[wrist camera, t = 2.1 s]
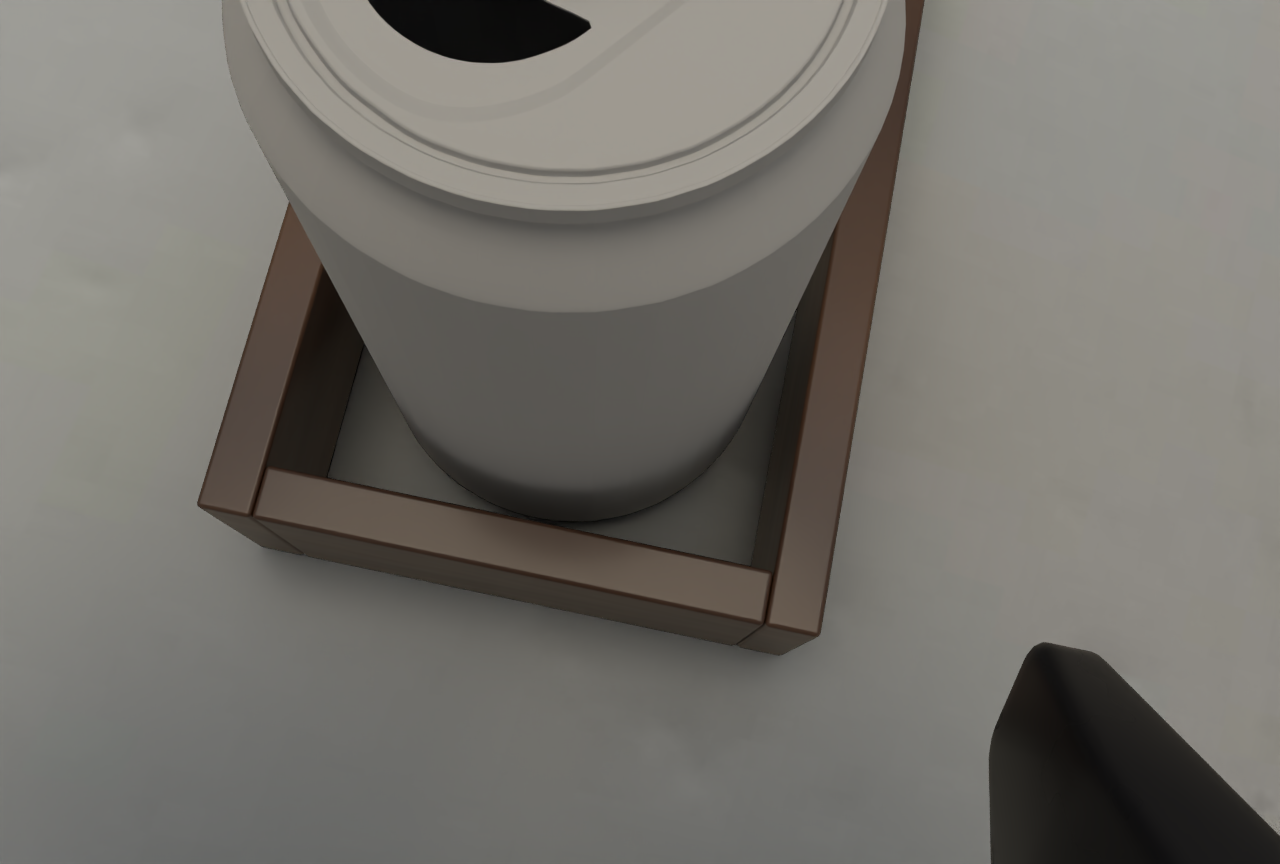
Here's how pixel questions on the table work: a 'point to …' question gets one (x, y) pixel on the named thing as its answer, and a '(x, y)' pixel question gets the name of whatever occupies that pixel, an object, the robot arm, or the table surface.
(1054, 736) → the robot arm
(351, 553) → the stand
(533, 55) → the beverage can
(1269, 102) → the table surface
